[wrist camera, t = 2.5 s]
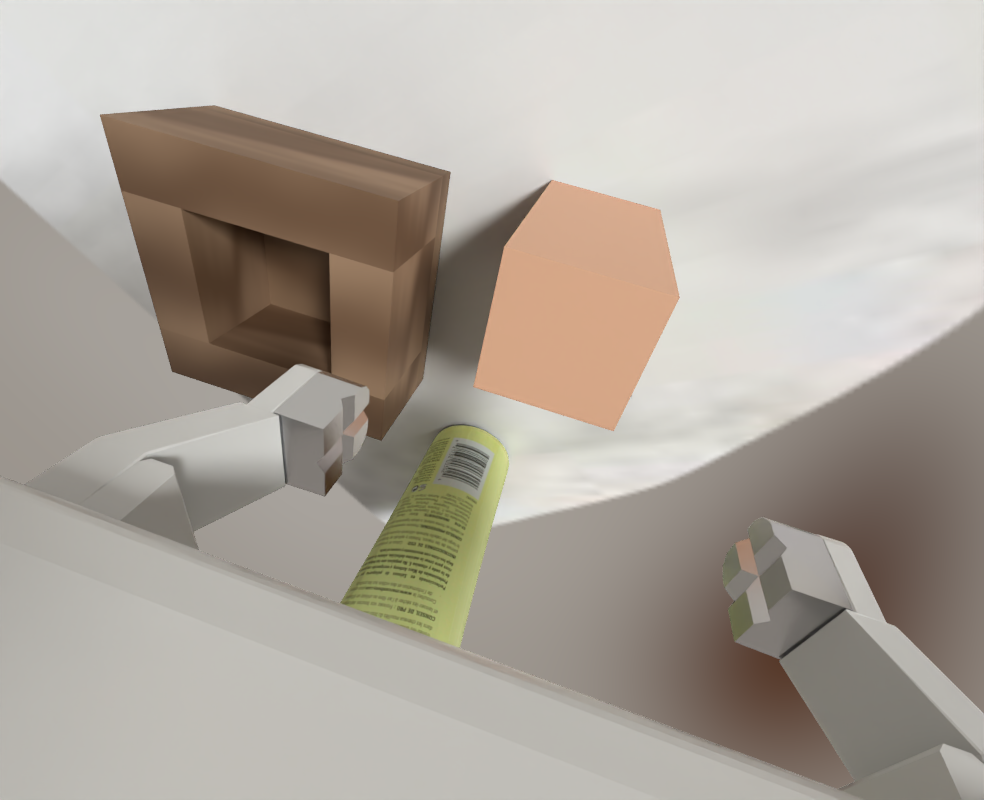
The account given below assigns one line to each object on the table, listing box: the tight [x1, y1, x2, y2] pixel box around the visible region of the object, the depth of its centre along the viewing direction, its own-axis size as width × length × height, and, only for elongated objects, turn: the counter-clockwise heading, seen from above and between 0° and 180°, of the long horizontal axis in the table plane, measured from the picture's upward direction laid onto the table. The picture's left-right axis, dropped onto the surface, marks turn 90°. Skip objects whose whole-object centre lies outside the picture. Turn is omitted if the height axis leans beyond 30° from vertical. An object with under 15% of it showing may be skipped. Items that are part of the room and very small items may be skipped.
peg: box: [473, 180, 680, 431], centre depth 16 cm, size 4×4×9 cm
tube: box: [341, 425, 509, 648], centre depth 21 cm, size 6×5×20 cm
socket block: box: [100, 106, 450, 440], centre depth 21 cm, size 11×11×6 cm
